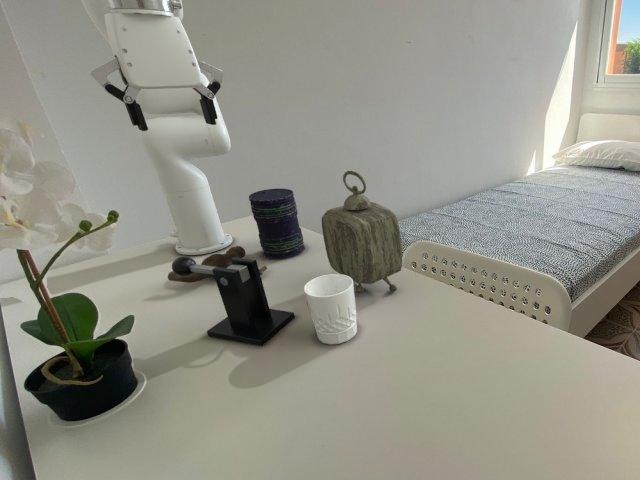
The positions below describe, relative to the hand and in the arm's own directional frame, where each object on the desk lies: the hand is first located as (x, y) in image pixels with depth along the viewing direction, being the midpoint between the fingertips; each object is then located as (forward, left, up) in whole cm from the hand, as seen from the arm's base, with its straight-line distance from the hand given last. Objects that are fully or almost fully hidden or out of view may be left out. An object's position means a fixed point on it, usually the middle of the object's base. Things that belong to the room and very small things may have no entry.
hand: (179, 127), depth 68 cm
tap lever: (+5, -7, -24) cm, 26 cm away
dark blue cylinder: (-5, +23, -34) cm, 41 cm away
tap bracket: (+11, -7, -34) cm, 36 cm away
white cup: (+27, -5, -34) cm, 43 cm away
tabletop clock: (+24, +11, -34) cm, 43 cm away
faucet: (-8, +9, -34) cm, 36 cm away
